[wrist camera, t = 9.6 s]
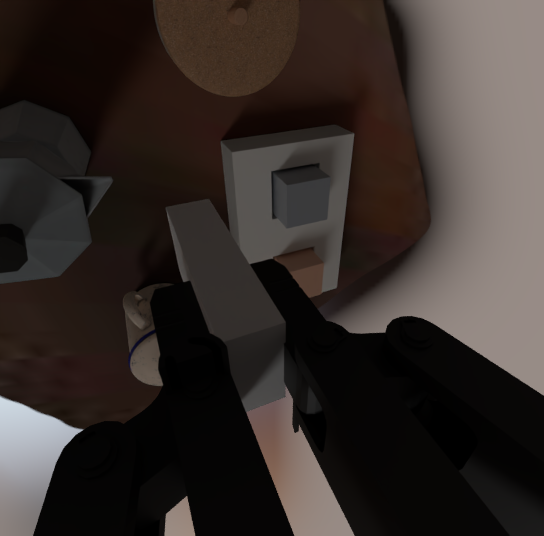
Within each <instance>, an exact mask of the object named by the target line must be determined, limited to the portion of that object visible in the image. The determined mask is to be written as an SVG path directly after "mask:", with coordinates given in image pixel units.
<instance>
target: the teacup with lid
mask: <svg viewBox="0 0 544 536" xmlns="http://www.w3.org/2000/svg"><path fill="white" fill-rule="evenodd" d="M170 285H174V284H170V283H159V284H154V285H150V286H148V287H145V288H143V289H141V290H140V291H138V292H136V291H131V292H129V293H128V294H126V295H125V296H124V298H123V306H124V309H125V317H126V326H127V334H128V342H129V351H130V354H129V360H128V361H129V367H130V370H131V371H132V373H133V374H134V376H135V377H136V378H138V379H139V380H140V381H142V382H144V383H146V384H150V385H155V386H163V383H162V380H161V377H160V374H159V371H158V361H159V357H160V351H159V346H158V341H157V336H156V332H155V327H154V322H153V317H152V312H151V307H150V301H151V298H152V295H153V293H154V290H155V289H158V288H162V287H166V286H170Z"/></svg>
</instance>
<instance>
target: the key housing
mask: <svg viewBox="0 0 544 536" xmlns="http://www.w3.org/2000/svg"><path fill="white" fill-rule="evenodd" d="M353 141H354V133H352V132H350V131H348V130H346V129H344V128H342V127H340V126H338V125H336V124H335V125H328V126H321V127H314V128H307V129H300V130H293V131H286V132H279V133H272V134H265V135H258V136H251V137H244V138H237V139H230V140H223V141H221V149H222V159H223V169H224V178H225V188H226V198H227V207H228V217H229V227H230V234H231V235H232V237H233V238H234V240H235V242H236V243H237V245H238V246H239V248H240V250H241V251H242V253H243V255H244V256H245V258H246V259H247V261H248V263H249V264H252V263H256V262H260V261H264V260H268V259H273V257H274V256H278V255H281V254H285V253H289V252H293V251H297V250H301V249H305V248H309V247H310V248H311V249H312V250H313V251H314V252H315V254H316V255H317V256H318V257H319V258H320V259H321V260H322V261H323V262H324V270H323V282H322V292H325V291H328V290H331V289H335V288H337V280H338V271H339V262H340V254H341V245H342V236H343V228H344V219H345V210H346V202H347V193H348V184H349V176H350V167H351V158H352V150H353ZM309 164H313V165H315V166H316V167H317V168H319V169H320V170H322V171H323V172H325V173H326V174H327V175H329V176H330V177H331V181H330V194H329V206H328V218H327V220H322V221H318V222H314V223H309V224H305V225H301V226H296V227H292V228H288V229H287V228H286V227H285V226H284V225H283V224H282V223H281V222H280V220H279V219H278V218H277V217H276V216H275V215H274V214H273V213H272V186H271V171H275V170H281V169H286V168H292V167H298V166H303V165H309Z"/></svg>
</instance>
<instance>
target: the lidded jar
mask: <svg viewBox="0 0 544 536" xmlns="http://www.w3.org/2000/svg"><path fill="white" fill-rule="evenodd" d="M153 8H154V17H155V21H156V26H157V30H158V33H159V35H160V38H161V41H162V43H163V45H164V47H165V49H166V51H167V53H168V54H169V55H170V57H171V58H172V60H173V61H174V63H175V64H176V65H177V67H178V68H179V69H180V70H181V71H182V72H183V73H184V74H185V75H186V76H187V77H188V78H189V79H190V80H191V81H193V82H194V83H195V84H196V85H198V86H200V87H201V88H203V89H205V90H207V91H209V92H212V93H214V94H217V95H222V96H227V97H238V96H244V95H248V94H251V93H254V92H257V91H258V90H260V89H262V88H264V87H265V86H267V85H268V84H269V83H270V82H272V81H273V80H274V79H275V78H276V77H277V75H278V74H279V73H280V72H281V71H282V69H283V68H284V66H285V65H286V63H287V62H288V60H289V58H290V56H291V53H292V51H293V48H294V45H295V42H296V39H297V34H298V30H299V21H300V0H153Z"/></svg>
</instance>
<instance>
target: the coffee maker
mask: <svg viewBox="0 0 544 536" xmlns="http://www.w3.org/2000/svg"><path fill="white" fill-rule="evenodd" d="M90 155H91V150H90V149H89V147H88V146H87V144H86V143H85V141H84V139H83V138H82V136H81V135H80V133H79V132H78V130H77V128H76V127H75V125H74V124H73V122H72V121H71V119H70V117H68V116H66V115H63V114H60V113H58V112H55V111H52V110H50V109H47V108H45V107H42V106H39V105H37V104H34V103H31V102H29V101H26V100H22V101H20V102H17V103H14V104H12V105H9V106H7V107H4V108H1V109H0V284H2V283H10V282H18V281H26V280H34V279H42V278H50V277H58V276H60V275H61V274H62V273H63V272H64V271H65V270H66V269H67V268H68V266H69V265H70V264H71V263H72V262H73V261H74V260H75V259H76V258H77V257H78V256H79V255H80V254H81V253H82V252H83V251H84V250H85V249H86V248H87V247H88V246H89V245H90V243H91V242H92V239H91V234H90V229H89V225H88V220H87V219H88V217H89V216H90V214H91V213H92V211H93V210H94V208H95V207H96V205H97V204H98V202H99V201H100V200H101V198H102V197H103V195H104V194H105V192H106V191H107V189H108V188H109V186H110V185H111V183H112V182H113V180H112V178H111V177H88V176H85V173H86V169H87V165H88V162H89V158H90Z"/></svg>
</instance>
